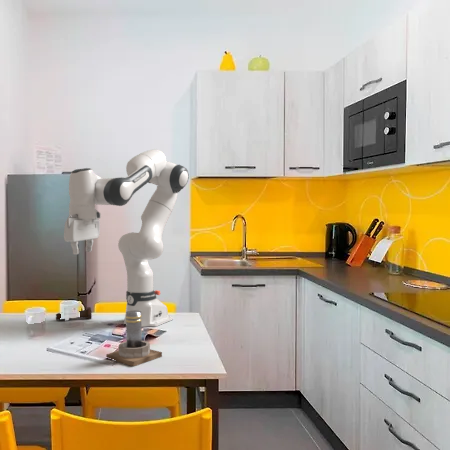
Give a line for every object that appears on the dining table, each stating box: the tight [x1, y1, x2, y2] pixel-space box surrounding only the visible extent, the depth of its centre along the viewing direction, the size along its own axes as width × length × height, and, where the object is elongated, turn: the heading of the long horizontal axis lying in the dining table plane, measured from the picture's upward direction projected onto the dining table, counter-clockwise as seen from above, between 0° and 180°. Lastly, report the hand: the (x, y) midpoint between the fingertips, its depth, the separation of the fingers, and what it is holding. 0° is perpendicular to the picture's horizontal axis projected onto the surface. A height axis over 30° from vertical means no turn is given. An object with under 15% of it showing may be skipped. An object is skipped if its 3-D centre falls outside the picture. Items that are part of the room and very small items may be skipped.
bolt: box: [55, 306, 93, 321], centre depth 222 cm, size 6×5×15 cm
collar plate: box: [106, 340, 163, 368], centre depth 168 cm, size 13×13×4 cm
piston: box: [125, 310, 143, 348], centre depth 168 cm, size 5×5×14 cm
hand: (82, 253), depth 178 cm, fingers open, 8 cm apart
